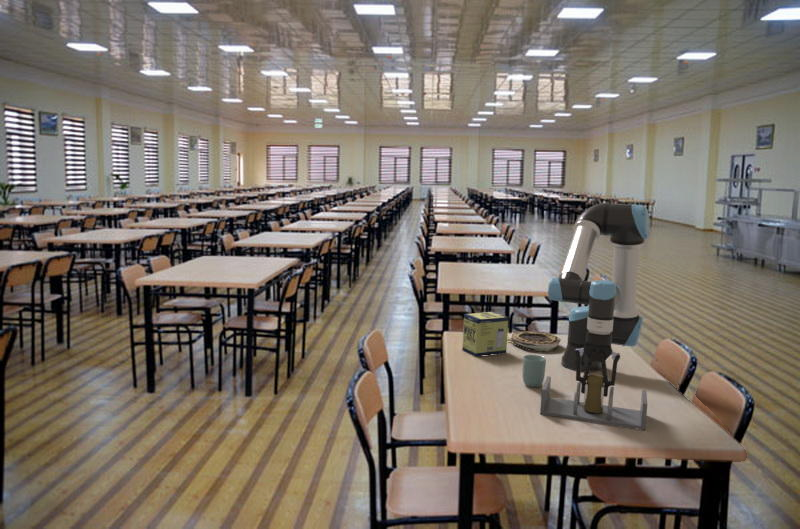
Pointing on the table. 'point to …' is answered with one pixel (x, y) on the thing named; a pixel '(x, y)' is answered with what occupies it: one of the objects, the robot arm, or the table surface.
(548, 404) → the rack
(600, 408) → the cork
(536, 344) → the pie
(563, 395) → the table surface
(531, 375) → the cup
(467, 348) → the protein box
